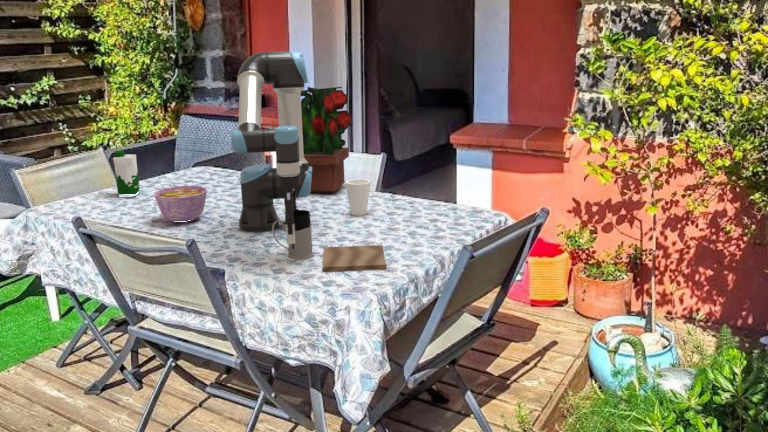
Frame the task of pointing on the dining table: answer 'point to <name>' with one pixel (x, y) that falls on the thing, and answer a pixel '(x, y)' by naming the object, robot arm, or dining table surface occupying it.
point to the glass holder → (300, 236)
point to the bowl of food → (181, 202)
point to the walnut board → (353, 258)
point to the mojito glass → (126, 173)
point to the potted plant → (325, 137)
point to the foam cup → (358, 196)
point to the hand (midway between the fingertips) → (292, 237)
